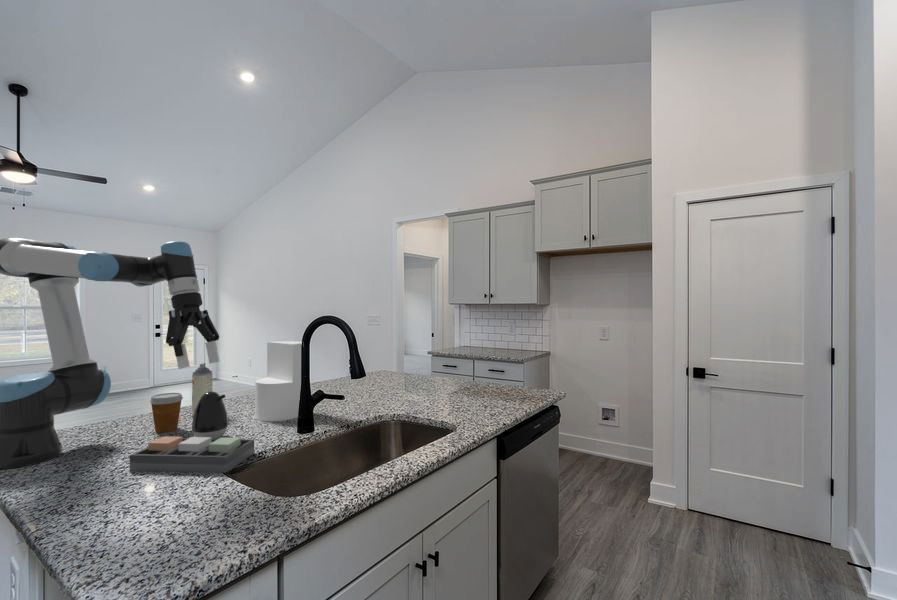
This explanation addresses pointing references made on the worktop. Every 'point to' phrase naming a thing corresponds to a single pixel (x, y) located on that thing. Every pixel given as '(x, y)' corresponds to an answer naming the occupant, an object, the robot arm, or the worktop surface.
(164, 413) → the disposable coffee cup
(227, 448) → the key sage
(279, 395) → the white toilet
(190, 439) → the key grey
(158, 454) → the grey compartment tray
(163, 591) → the worktop surface
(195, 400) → the aerosol can
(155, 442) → the key terracotta
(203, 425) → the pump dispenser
